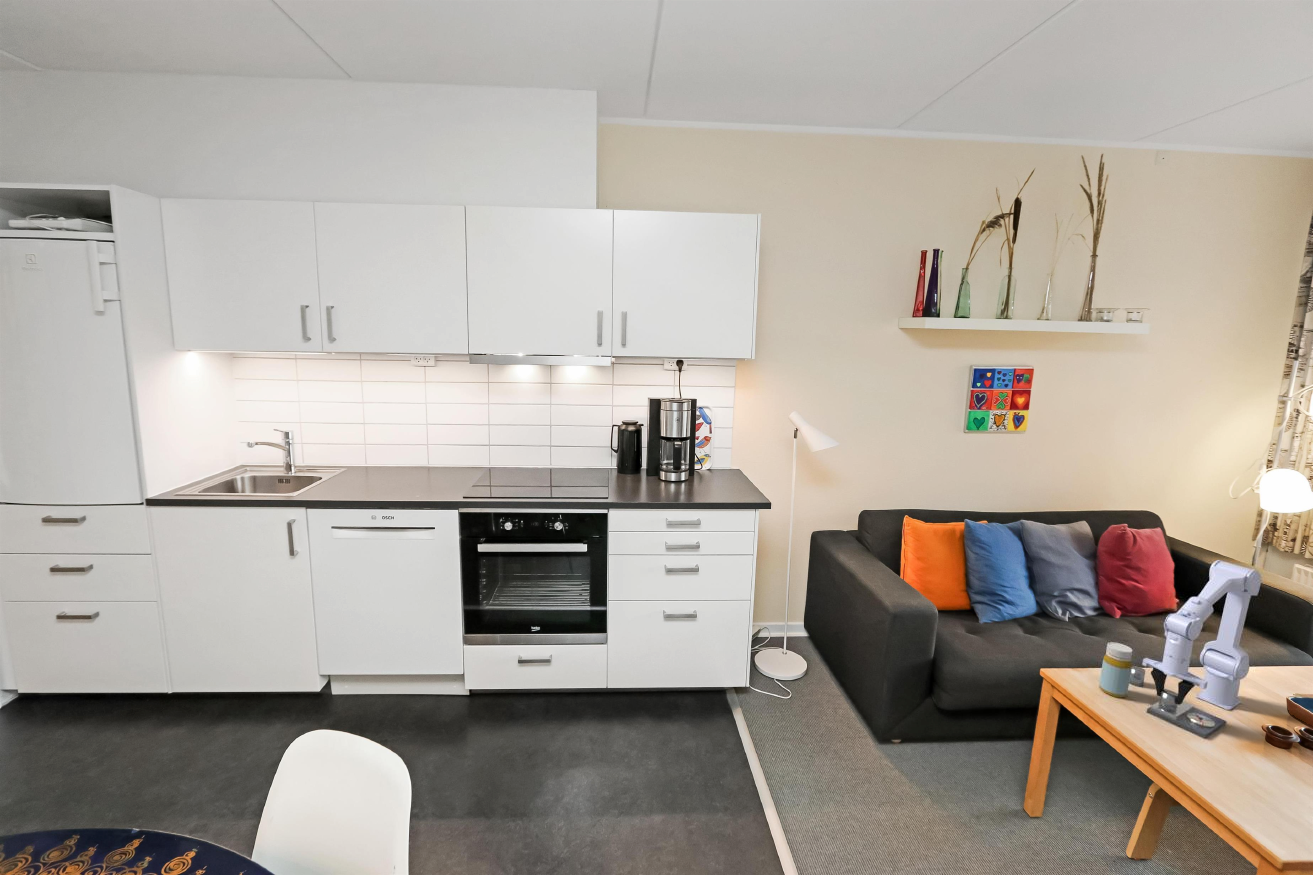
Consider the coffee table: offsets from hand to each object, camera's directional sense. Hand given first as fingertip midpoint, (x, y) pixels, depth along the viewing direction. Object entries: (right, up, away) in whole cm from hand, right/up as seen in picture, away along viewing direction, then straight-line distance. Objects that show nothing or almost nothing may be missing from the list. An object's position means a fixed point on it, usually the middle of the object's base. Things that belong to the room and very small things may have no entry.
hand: (1169, 699), depth 175 cm
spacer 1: (+4, -3, +18) cm, 19 cm away
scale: (+5, -5, 0) cm, 7 cm away
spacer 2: (0, -3, 0) cm, 3 cm away
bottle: (-7, -3, +12) cm, 15 cm away
